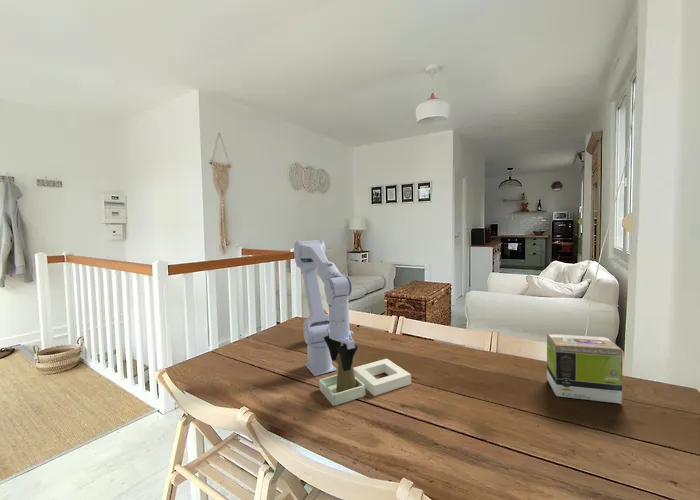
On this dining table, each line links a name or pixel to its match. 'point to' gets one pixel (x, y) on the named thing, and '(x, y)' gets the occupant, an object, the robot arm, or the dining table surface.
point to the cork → (345, 377)
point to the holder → (385, 384)
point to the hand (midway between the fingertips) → (340, 364)
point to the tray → (336, 398)
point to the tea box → (585, 367)
